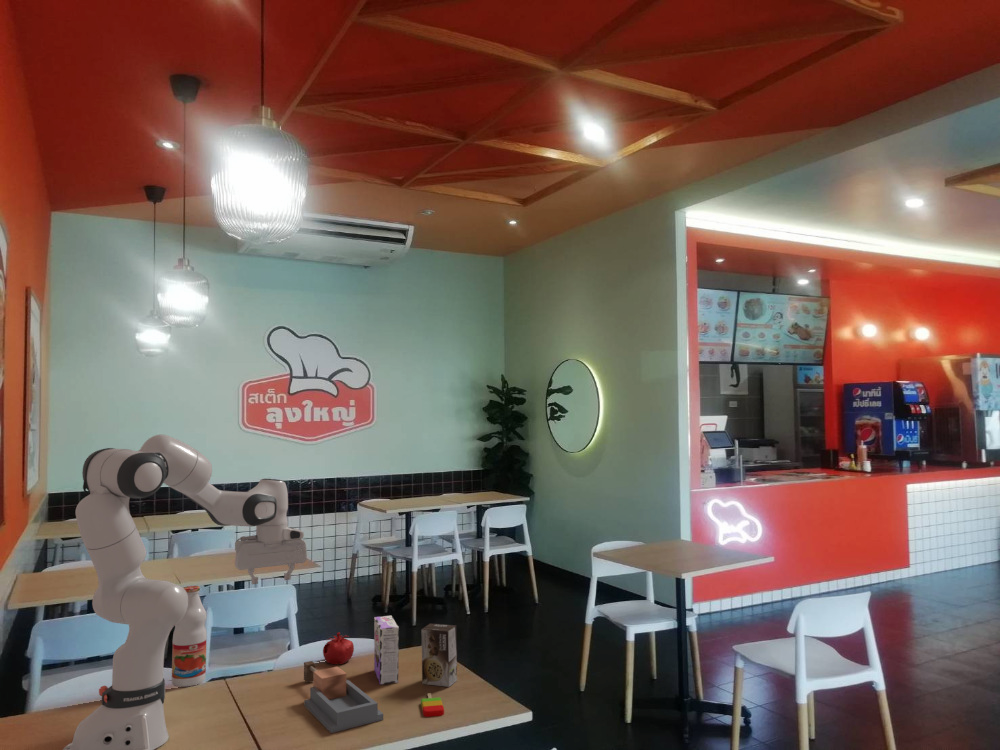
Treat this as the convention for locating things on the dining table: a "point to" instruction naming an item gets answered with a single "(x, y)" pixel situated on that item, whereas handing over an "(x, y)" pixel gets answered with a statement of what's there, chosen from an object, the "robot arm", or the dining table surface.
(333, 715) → the shelf lane
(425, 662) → the coffee box
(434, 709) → the popsicle
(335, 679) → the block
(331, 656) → the pomegranate
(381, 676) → the candy box
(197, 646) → the fruit juice
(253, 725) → the dining table surface
